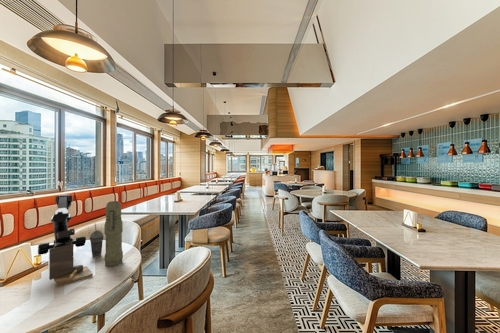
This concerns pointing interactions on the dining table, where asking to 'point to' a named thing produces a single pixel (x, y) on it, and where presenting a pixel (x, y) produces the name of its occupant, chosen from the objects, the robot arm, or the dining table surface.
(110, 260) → the moai statue
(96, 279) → the dining table surface
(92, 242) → the beverage cup
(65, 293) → the dining table surface
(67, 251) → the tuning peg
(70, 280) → the dial plate
